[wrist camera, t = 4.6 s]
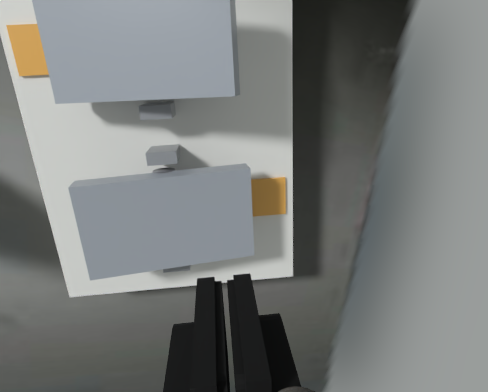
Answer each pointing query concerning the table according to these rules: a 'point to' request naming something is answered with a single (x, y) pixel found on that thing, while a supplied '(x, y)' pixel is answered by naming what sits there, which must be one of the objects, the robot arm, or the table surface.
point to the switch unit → (166, 143)
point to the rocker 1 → (139, 49)
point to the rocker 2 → (164, 219)
